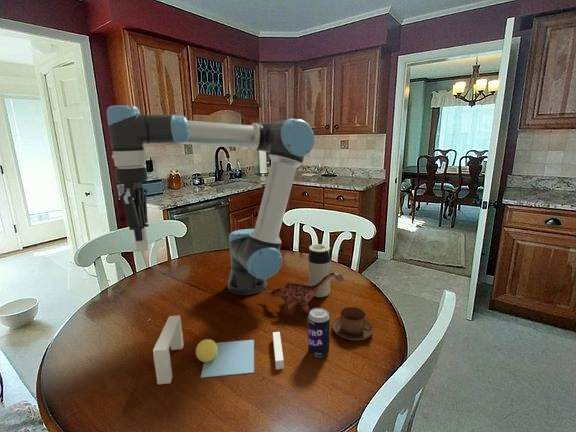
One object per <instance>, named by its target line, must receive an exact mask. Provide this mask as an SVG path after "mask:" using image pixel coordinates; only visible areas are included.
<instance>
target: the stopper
mask: <svg viewBox="0 0 576 432" xmlns="http://www.w3.org/2000/svg"><path fill="white" fill-rule="evenodd" d="M272 343H273V352H274V354H273V355H274V362H275V363H274V364H275V370H284V369H285V363H284V362H285V361H284V353H283V346H282V339H281V332H280V331H273V332H272Z"/></svg>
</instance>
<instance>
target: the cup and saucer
mask: <svg viewBox="0 0 576 432" xmlns="http://www.w3.org/2000/svg"><path fill="white" fill-rule="evenodd" d="M331 326H332V329H333V332H335V334H336V335H338V336H339V337H341V338H343V339H345V340H349V341H362V340H366V339H368V338H369V337H371V336H372V334H373V332H374V326H373V324H372V322H371V321H369V320H368V319H367V318H366V312H365V311H364V310H363V309H361V308H359V307H354V306H350V307H349V306H348V307H344V308H342V309H341V311H340V316H338V317H336V318H335V319H334V320H333V321H332V325H331Z"/></svg>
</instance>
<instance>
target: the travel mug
mask: <svg viewBox="0 0 576 432" xmlns="http://www.w3.org/2000/svg"><path fill="white" fill-rule="evenodd" d="M308 248H309V254H308V286H314V285H316V284H318V283H319V282H320V281H321V280H322V279H323V278H324V277H325V276H327V275H328V274H331V255H330V253H329V252H330V250H331V247H330V246H329V245H326V244H321V243H317V244H311V245H309V247H308ZM330 294H331V279H330V280H327V282H325V284H324V285H323V286H322V287H321V288H320V290H319V291H318V292H316V293H315V294H314V295H313V297H316V298H323V297H327V296H329V295H330Z"/></svg>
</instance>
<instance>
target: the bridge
mask: <svg viewBox="0 0 576 432" xmlns="http://www.w3.org/2000/svg"><path fill="white" fill-rule="evenodd" d="M184 344H185V343H184V336H183V328H182V318H181V315H169V316H168V318H167V320H166V323H165V325H164V326H163V328H162V331H161V332H160V334H159V337H158V339H157V341H156V343H155V345H154V348H153V349H152V353H153V355H152V357H153V362H154V363H153V364H154V368H155V377H156V384H157V385H163V384H164V385H165V384H171V383H172V381H173V370H172V362H171V355H170V354H171V353H170V350H171V351H175V350H182V349H183V348H184Z"/></svg>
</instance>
